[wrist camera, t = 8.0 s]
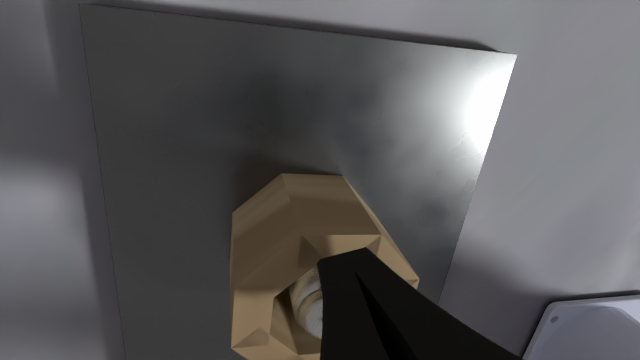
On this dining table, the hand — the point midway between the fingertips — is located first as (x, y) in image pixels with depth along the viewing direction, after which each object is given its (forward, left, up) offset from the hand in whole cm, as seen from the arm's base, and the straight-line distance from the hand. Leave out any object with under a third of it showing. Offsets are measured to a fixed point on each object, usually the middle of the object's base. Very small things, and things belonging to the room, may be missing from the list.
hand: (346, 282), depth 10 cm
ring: (-2, 0, -5) cm, 5 cm away
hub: (-2, 0, -6) cm, 6 cm away
